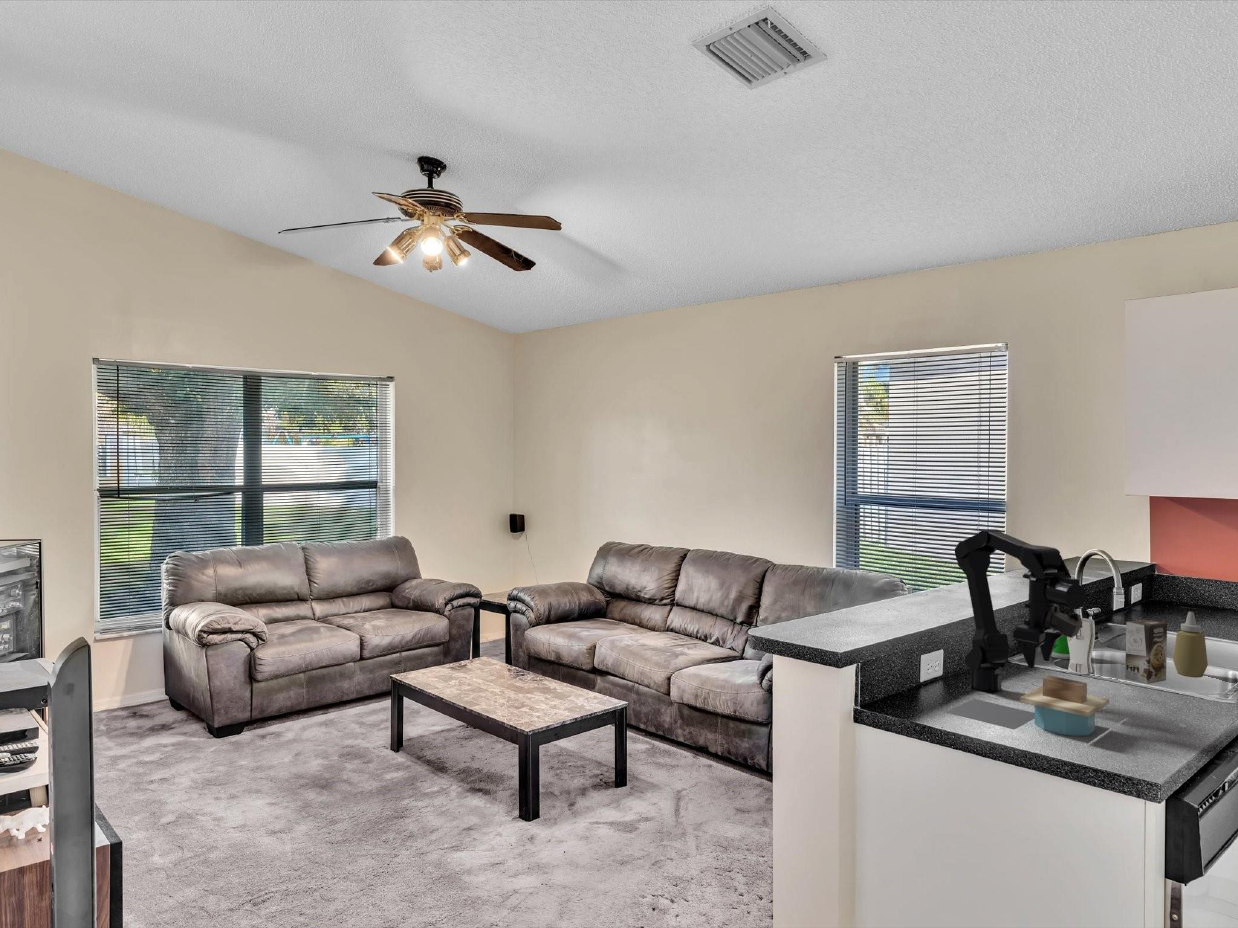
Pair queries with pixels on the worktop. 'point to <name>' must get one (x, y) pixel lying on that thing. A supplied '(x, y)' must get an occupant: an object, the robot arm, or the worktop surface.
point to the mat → (993, 713)
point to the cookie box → (1146, 651)
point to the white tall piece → (1082, 648)
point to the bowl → (1064, 722)
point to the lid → (1065, 696)
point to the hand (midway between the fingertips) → (1039, 664)
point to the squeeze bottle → (1190, 649)
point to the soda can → (1061, 648)
